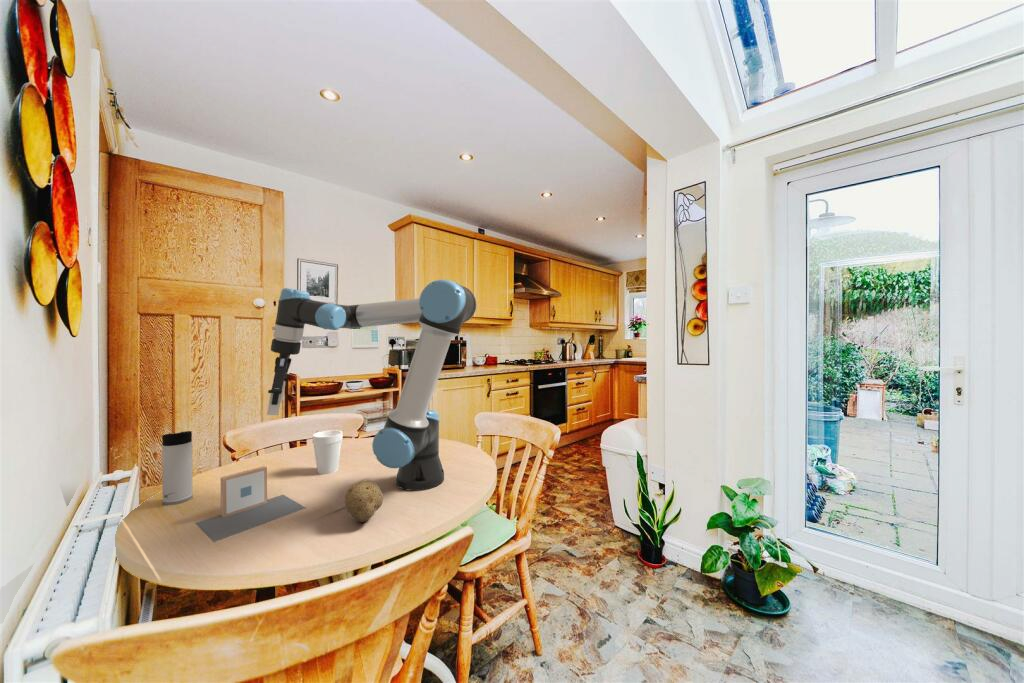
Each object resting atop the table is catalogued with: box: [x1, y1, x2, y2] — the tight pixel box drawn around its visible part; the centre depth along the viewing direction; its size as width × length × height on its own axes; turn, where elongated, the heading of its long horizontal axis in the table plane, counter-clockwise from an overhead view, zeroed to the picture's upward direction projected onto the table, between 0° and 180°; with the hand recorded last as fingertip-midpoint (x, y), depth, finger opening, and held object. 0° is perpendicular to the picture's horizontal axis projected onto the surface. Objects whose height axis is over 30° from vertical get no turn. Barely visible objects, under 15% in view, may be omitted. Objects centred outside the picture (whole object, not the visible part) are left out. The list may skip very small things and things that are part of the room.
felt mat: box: [194, 494, 306, 543], centre depth 94 cm, size 14×20×1 cm
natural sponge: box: [344, 480, 384, 523], centre depth 93 cm, size 9×9×10 cm
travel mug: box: [161, 430, 194, 507], centre depth 102 cm, size 6×7×20 cm
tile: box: [220, 465, 268, 517], centre depth 97 cm, size 2×10×10 cm, turn 144°
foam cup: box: [312, 429, 344, 475], centre depth 126 cm, size 10×9×13 cm
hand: (275, 407), depth 111 cm, fingers open, 13 cm apart
